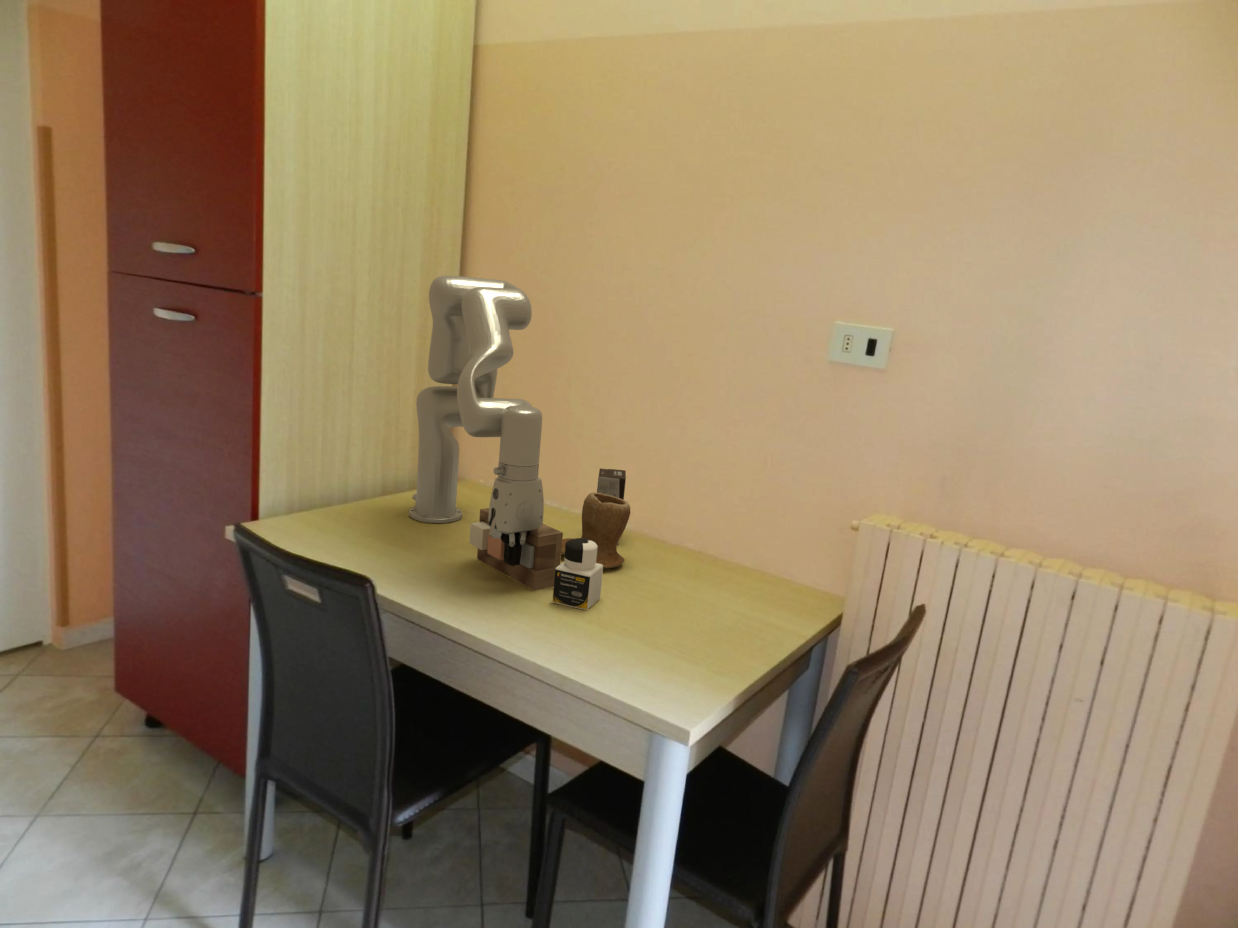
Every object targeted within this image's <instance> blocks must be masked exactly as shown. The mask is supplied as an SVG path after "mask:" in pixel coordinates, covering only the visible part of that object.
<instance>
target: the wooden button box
mask: <svg viewBox="0 0 1238 928" xmlns="http://www.w3.org/2000/svg"><path fill="white" fill-rule="evenodd" d="M488 517H489V507H487V508H480V509H479V520H478V522H483V521H486V522H488ZM563 536H564V532H562V531H561V530H558V529H556V528H554V527H551V526H549V525H547V524H544V523H543V524H542V526H541V527H540V528H538V531H536V532H530V534H529V536H528V537H527V538H526V540H525V541H527V542H529V543H531V544H533V545H535V551H534V564H533V568H527V567H525V566H523V565H521V564H520V565H515V566H511V565H509V564H507V563H506V562H504V559H503V560H499V559H497V558H495V557H493V556H492V555H490V554H488V553H487V549H486V550H480V549H478V548H477V555H476V559H477V560H478V561H479V562H481V563H483V564H485V565H487V566H488V567H490V568H492V569H494V570H496V571H498V572H499V573H501V574H503V575H505V576H507V577H509V578H510V579H512V580H513V581H516V582H518V583H520V584H522V585H524V586H525V587H527V588H529V589H530V590H532V591H539V590H543V589H547V588H552V587H553V588H554V579H555V568H556V567H558V566H559V565H560V564H561V563H562V562H561V559H562V554H561V550H562V539H564V537H563Z"/></svg>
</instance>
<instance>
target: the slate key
mask: <svg viewBox="0 0 1238 928" xmlns="http://www.w3.org/2000/svg"><path fill="white" fill-rule="evenodd" d="M534 551H535V545H533V544H531V543H529V542H527V541H525V543H524V544H523V545H522V550H521V558H520V564H521V565H523V566H525V567H527V568H533V564H534Z"/></svg>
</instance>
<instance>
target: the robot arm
mask: <svg viewBox="0 0 1238 928" xmlns="http://www.w3.org/2000/svg"><path fill="white" fill-rule="evenodd" d="M428 302H429V303H428V304H429V308H430V313H431V319H432V330H431V337H430V345H429V351H428V352H429V353H428V362H427V363H428V366H427V372H428V375H429V378H430V379H431V380H432V381H433V382H435V383H439V384H442V385H433V386H429V387H425V388H424V389H422V390H420V391H419V393H418V394H417V396H416V403H415V405H416V414H417V422H418V427H417V428H418V454H417V472H416V473H417V474H416V478H417V480H416V493H414V494H413V495H412V497H411V498H412V500H414V501H415V505H414V506H412V507H411V508H409V510H408V516H409V517H410V518H411V519H413V520H415V521H418V522H423V523H431V524H446V523H453V522H456V521H459V520H461V519H462V517H463V511H462V510H461V509H459V508H458V507H457V495H458V479H459V477H458V476H459V463H460V462H459V460H460V459H459V458H460V444H459V441H458V439H457V438H456V437H455V435H454V434H453V433H452V431H451V429H450V428H457V427H458V428H460V427H461V428H463V429H464V431H465V432H466V433H467V434H468V435H469V436H471V437H474V438H500V439H499V440H500V442H499V454H498V455H499V457H498V463H497V464H498V466H497V467H494V468H493V474H494V476H495V475H497V477H495V479H494V482H493V486H492V490H491V493H490V494H491V495H490V500H489V507H488V508H489V517H488V523H489V526H490V527H491V528H490V532H489V536H491V537H493V538H498V539H501V540H502V542H503V543H505V544H504V562H506V563H507V564H509V565H511V566H515V565H520V558H521V550H522V545H523V544H524V543H525V540H526V538H527V537H528V536H529V534H530V532H536V531H538V528H540V527H541V526H542V524H544V523H543V522H544V509H545V508H544V506H545V505H544V489H543V488H544V487H543V481H542V478H541V477H539V470H540V469H539V466H540V456H541V454H540V452H541V444H542V443H541V440H542V427H543V414H542V413H543V412H541V410H540V409H539V408H537V407H533V406H532V404H531V403H530V402H529V401H528V400H526V399H523V398H522V399H521V398H503V397H501V398H498V397H497V398H496V397H495V390H496V383H497V378H498V377H497V376H498V369H500V368H502V367H504V366H505V365H506V364H508V363H509V362H511V360H512V359H513V356H514V354H515V353H514V347H513V342H512V338H511V335H510V334H511V333H510V330H513V331H522V330H525V329H526V328H528V326H529V325H530V323H531V320H532V317H533V316H532V315H533V313H532V312H533V310H532V304H531V302H530V298H529V297H528V295H527V293H526V292H525V291H524V290H522V289H521V288H519V287H517V286H516V285H514V284H512V283H510V282H508V281H506V280H501V279H496V278H495V279H492V278H484V277H483V278H482V277H481V278H480V277H479V278H478V277H473V276H462V275H440V276H437V277H436V278H434V279H432V282H431V283H430V286H429V289H428ZM443 384H444V385H443ZM448 385H449V386H448ZM450 385H453V386H450ZM454 385H457V386H454ZM494 397H495V398H494Z"/></svg>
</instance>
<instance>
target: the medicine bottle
mask: <svg viewBox="0 0 1238 928" xmlns="http://www.w3.org/2000/svg"><path fill="white" fill-rule="evenodd" d="M597 547H598V546H597V544H596V543H595V542H593V541H591V540H588V539H584V538H581V537H580V538H579V537H577V538H573V539H571V540H569V541H567V542H566V545H565V555H564V559H563V560H564V561H563V562H561V563H560V565H559V566H558V567H556V568H555V579H554V586H553V590H552V591H553V592H552V603H554V604H558V605H562V606H565V607H569V608H573V609H578V610H582V611H588V609H589V608H591V607H592V606H593V605H594V604H595V603H597V602H598V601H599V600H600V599H601V593H602V585H603V584H602V581H603V571H604V568H603V565H602V564H598V563H596V558H597Z"/></svg>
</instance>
